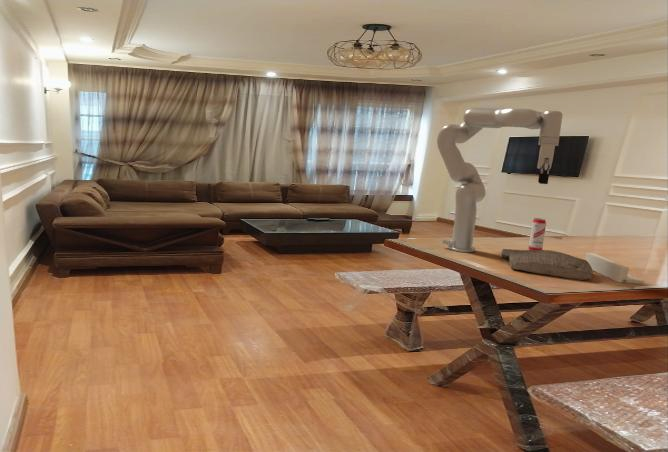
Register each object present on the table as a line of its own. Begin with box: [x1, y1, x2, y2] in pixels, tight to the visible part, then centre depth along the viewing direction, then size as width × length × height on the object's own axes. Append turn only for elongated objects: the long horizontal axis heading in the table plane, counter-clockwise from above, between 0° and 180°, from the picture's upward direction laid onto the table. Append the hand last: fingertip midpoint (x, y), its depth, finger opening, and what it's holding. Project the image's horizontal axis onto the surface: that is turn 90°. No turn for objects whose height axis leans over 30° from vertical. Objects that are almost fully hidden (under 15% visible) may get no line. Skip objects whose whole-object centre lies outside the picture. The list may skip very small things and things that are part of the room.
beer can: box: [528, 217, 547, 250], centre depth 221 cm, size 6×6×16 cm
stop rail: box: [584, 252, 644, 285], centre depth 185 cm, size 10×24×6 cm, turn 0°
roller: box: [501, 248, 523, 260], centre depth 201 cm, size 10×4×4 cm, turn 90°
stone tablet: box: [508, 249, 594, 281], centre depth 184 cm, size 20×8×30 cm
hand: (542, 183), depth 188 cm, fingers open, 9 cm apart
